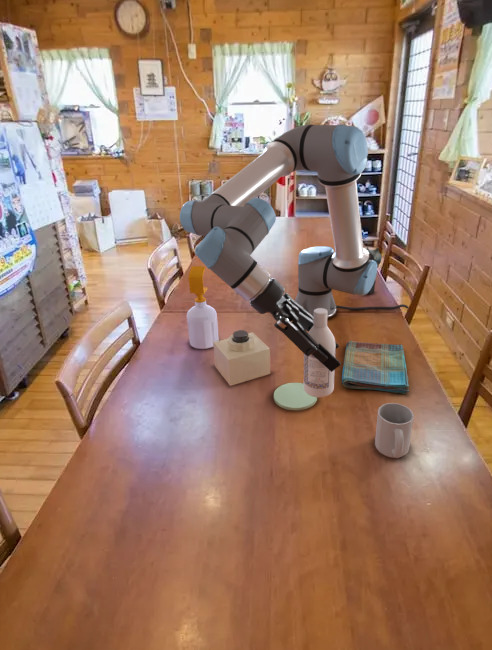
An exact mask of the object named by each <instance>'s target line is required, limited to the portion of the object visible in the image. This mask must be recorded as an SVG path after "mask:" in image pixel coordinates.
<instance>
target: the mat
mask: <svg viewBox="0 0 492 650" xmlns="http://www.w3.org/2000/svg"><path fill="white" fill-rule="evenodd" d="M273 400H274V403H275V404H276V406H279V407H280V408H282V409H284V410H287V411H295V412H296V411H304V410H308V409H309V408H311V407H313V406H314V405H315V404H316V403H317V401H318V397H313V396H311V395H309V394H307V393H306V392H305V390H304V382H303V383H302V382H288V383H283V384H282V385H280V386H278V387H276V389H275V390H274V392H273Z"/></svg>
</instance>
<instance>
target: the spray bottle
mask: <svg viewBox="0 0 492 650" xmlns="http://www.w3.org/2000/svg"><path fill="white" fill-rule="evenodd" d="M205 271H206V266H205V265H204V266H203V265H200V266H199V265H193V266H191V267H190V270H189V272H188V285H189V293H190V294H194V295H195V296H196V297H195V298H194V305H193V306H192V307H191V308H190V309H188V310H187V313H186V322H187V323H186V324H187V330H188V331H187V332H188V339H189V341H188V342H189V345H190V346H191V347H192V348H194V349H197V350H206V349H211V348H214V346H213V342H216V341H220V339H219V338H220V337H219V324H218V314H217V311H216V309H215V308H214V307H212V306H211V305H209V304H207V298H206V297H205V296H204V295H205V294H206V292H207V291H208V289H209V288H208V287H207V286H204V274H205Z"/></svg>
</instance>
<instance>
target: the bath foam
mask: <svg viewBox="0 0 492 650" xmlns="http://www.w3.org/2000/svg"><path fill="white" fill-rule="evenodd" d="M327 315H328V311H327V310H326V309H324V308H317V309H315V310H314V325H313V327H312V328H311V329H310V330H309V332H308V331H307V332H308V334H309V335H310V336H311V337H312V338H313V339H314V341H315V342H316V343H317V344H318V345H319V344H321V345H322V346H323V347H324V348H325V349H326V350H327V351H328V352H330V353H331V354H332V355H333V356H334V357H335V358H336V350H337V349H336V343H337V342H336V338H335V335H334V334H333V332H332V330H331V329H330V328H329V326H328V319H327ZM335 342H336V343H335ZM335 371H336V369H335V370H334V371H332V372H331V371H330V370H329V369H328V368H327V367H325V366H324V365H323V364H322V363H321V362H320V361H319V360H318V359H317V358H315V357H314V356H313V355H312V354H311V355H310V356H306V355H305V354H304V353H303V384H304V390H305V392H306V393H307V394H309V395H311V396H313V397H317V398H325V397H329V396H330V395H331V394H332V393H333V392H334V390H335V389H334V388H335V373H336V372H335Z"/></svg>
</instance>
